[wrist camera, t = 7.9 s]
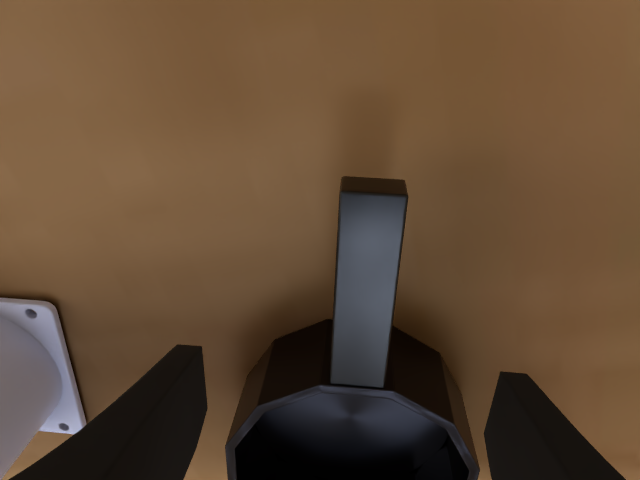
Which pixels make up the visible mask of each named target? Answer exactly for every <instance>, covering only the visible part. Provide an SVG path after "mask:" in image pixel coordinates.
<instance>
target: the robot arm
mask: <svg viewBox="0 0 640 480" xmlns="http://www.w3.org/2000/svg"><path fill="white" fill-rule="evenodd" d="M31 309H32V310H34V311H35V312H36V313H34V312H33V311H32V310H31ZM206 412H207V397H206V387H205V376H204V365H203V354H202V346H190V345H176V346H175V347H174V348H173V349H172V350H171V351H169V352H168V353H167V354H166V355H165V356H164V357H163V358H162V359H161V360H160V361H159V362H158V363H157V364H155V365H154V366H153V367H152V368H151V369H150V370H149V371H148V372H147V373H146V374H145V375H144V376H143V377H141V378H140V379H139V380H138V381H137V382H136V383H135V384H134V385H133V386H132V387H130V388H129V389H128V390H127V391H126V392H125V393H124V394H122V395H121V396H120V397H119V398H118V399H117V400H116V401H115V402H113V403H112V404H111V405H110V406H109V407H108V408H106V409H105V410H104V411H103V412H101V413H100V414H99V415H98V416H97V417H95V418H94V419H93V420H92V421H90V422H89V423H88V424H87V425H86V420H85V416H84V412H83V408H82V404H81V400H80V397H79V393H78V389H77V385H76V381H75V377H74V373H73V370H72V366H71V362H70V358H69V354H68V350H67V347H66V343H65V339H64V335H63V331H62V327H61V324H60V320H59V316H58V312H57V310H56V307H55V306H54V305H53V304H51V303H49V302H46V301H38V300H26V299H13V298H0V480H1V479H2V478H3V477H4V475H5V474H6V473H7V471H8V470H9V469H10V467H11V466H12V465H13V463H14V462H15V461H16V459H17V458H18V457H19V455H20V454H21V453H22V451H23V450H24V449H25V448H26V446H27V445H28V444H29V442H30V441H31V440H32V438H33V437H34V436H35V434H36V433H37V432H38V431H46V432H57V433H68V434H74V435H73V436H72V437H70V438H69V439H68V440H66V441H65V442H64V443H62V444H61V445H60V446H58V447H57V448H55V449H54V450H53V451H51V452H50V453H48V454H47V455H45V456H44V457H43V458H41V459H40V460H38V461H37V462H35V463H34V464H32V465H31V466H29V467H28V468H26V469H25V470H23V471H22V472H20V473H19V474H17V475H15V476H14V477H12V478H10V479H9V480H183V479H184V477H185V474H186V472H187V469H188V467H189V464H190V462H191V460H192V457H193V455H194V452H195V450H196V447H197V444H198V440H199V437H200V433H201V430H202V426H203V423H204V419H205V415H206ZM484 437H485V444H486V450H487V456H488V462H489V467H490V472H491V477H492V480H626V479H625V478H624V477H623V476H622V475H621V474H620V473H619V472H618V471H617V470H615V469H614V468H613V467H612V466H611V465H610V464H609V463H608V462H607V461H606V460H605V459H604V458H603V456H602V455H601V454H600V453H599V452H598V451H597V450H596V449H595V448H594V447H593V446H592V445H591V444H590V443H589V442H588V441H587V440H586V439H585V438H584V437H583V436H582V435H581V433H580V432H579V431H578V430H577V429H576V428H575V427H574V426H573V425H572V424H571V423H570V421H569V420H568V419H567V418H566V417H565V416H564V415H563V414H562V413H561V411H560V410H559V409H558V408H557V407H556V406H555V405H554V404H553V403H552V401H551V400H550V399H549V398H548V397H547V396H546V395H545V393H544V392H543V391H542V390H541V389H540V388H539V387H538V386H537V384H536V383H535V382H534V381H533V380H532V379H531V378H530V377H529V376H528V375H527V374H524V373H512V372H500V375H499V379H498V383H497V386H496V390H495V394H494V397H493V401H492V405H491V409H490V412H489V416H488V420H487V423H486V427H485V431H484Z"/></svg>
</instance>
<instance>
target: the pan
mask: <svg viewBox="0 0 640 480" xmlns="http://www.w3.org/2000/svg"><path fill="white" fill-rule="evenodd" d="M407 204H408V193H407V188H406V184H405V181H404V180H398V179H381V178H364V177H347V176H344V177H342V179H341V186H340V195H339V213H338V232H337V250H336V268H335V286H334V305H333V320H331V319H328V320H324V321H322V322H319V323H316V324H314V325H311V326H309V327H306V328H303V329H301V330H298V331H296V332H293V333H291V334H288V335H285V336H283V337H280V338H278V339H275V340H274V341H273V342H272V344H271V345H270V346H269V348H268V349H267V350H266V352H265V353H264V354H263V356H262V357H261V359H260V360H259V361H258V363H257V364H256V365H255V367H254V368H253V369H252V371H251V372H250V373H249V375H248V376H247V378H246V382H245V385H244V388H243V391H242V394H241V398H240V401H239V404H238V407H237V410H236V413H235V417H234V420H233V423H232V426H231V429H230V433H229V436H228V439H227V442H226V445H225V449H226V462H227V474H228V480H477V479H478V475H479V472H480V468H479V464H478V460H477V456H476V452H475V448H474V443H473V439H472V435H471V431H470V427H469V423H468V419H467V415H466V411H465V406H464V402H463V398H462V394H461V393H460V391H459V389H458V387H457V385H456V383H455V381H454V379H453V377H452V375H451V374H450V372H449V370H448V368H447V366H446V364H445V362H444V360H443V358H442V356H441V355H440V353H439V352H437V351H435V350H434V349H432V348H430V347H428V346H427V345H425V344H423V343H421V342H420V341H418V340H416V339H414V338H413V337H411V336H409V335H408V334H406V333H404V332H402V331H401V330H399V329H397V328H395V327H394V326H392V325H393V317H394V309H395V300H396V292H397V284H398V276H399V268H400V260H401V252H402V244H403V236H404V228H405V220H406V212H407Z"/></svg>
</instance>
